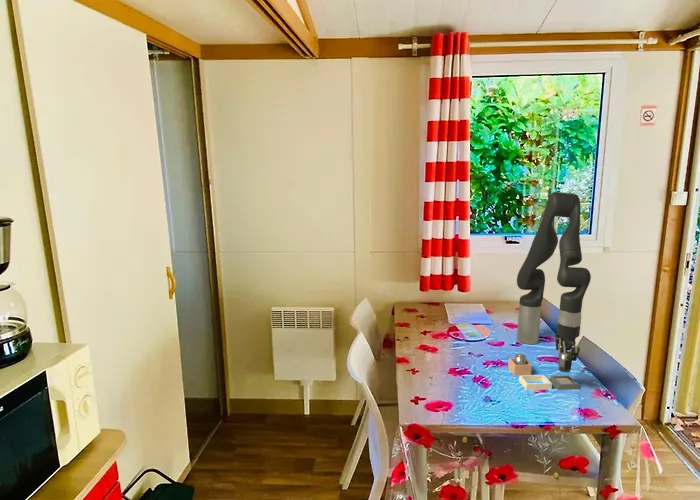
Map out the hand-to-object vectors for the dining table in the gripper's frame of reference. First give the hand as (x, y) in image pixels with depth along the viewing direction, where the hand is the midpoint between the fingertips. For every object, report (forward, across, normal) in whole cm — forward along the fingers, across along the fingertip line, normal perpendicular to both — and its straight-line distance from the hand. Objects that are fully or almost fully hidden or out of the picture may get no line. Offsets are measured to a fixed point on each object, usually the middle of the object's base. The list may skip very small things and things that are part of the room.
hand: (564, 366), depth 177 cm
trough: (+8, 0, -10) cm, 13 cm away
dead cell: (+7, -11, -12) cm, 18 cm away
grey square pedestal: (+8, 0, 0) cm, 8 cm away
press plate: (+6, 0, 0) cm, 6 cm away
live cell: (+1, 0, 0) cm, 1 cm away
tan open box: (+8, -11, -12) cm, 18 cm away
